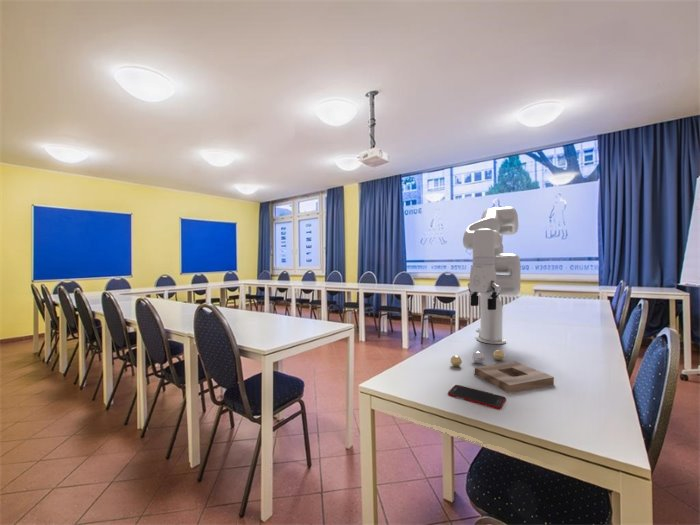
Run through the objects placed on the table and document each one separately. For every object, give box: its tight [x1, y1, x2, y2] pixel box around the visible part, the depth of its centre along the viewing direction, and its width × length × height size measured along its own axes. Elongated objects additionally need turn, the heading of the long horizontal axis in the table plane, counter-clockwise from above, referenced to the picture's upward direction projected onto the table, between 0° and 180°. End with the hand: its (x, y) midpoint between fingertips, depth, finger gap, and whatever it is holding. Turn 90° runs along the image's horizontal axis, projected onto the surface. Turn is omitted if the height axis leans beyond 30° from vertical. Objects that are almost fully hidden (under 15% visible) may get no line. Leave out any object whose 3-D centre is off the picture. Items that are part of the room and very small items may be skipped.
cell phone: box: [447, 384, 507, 410], centre depth 90 cm, size 8×15×1 cm, turn 53°
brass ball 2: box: [493, 349, 506, 361], centre depth 121 cm, size 4×4×4 cm
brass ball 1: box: [450, 355, 463, 368], centre depth 114 cm, size 4×4×4 cm
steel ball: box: [471, 350, 485, 364], centre depth 117 cm, size 4×4×4 cm
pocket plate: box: [474, 361, 555, 394], centre depth 102 cm, size 15×18×2 cm
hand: (482, 307), depth 116 cm, fingers open, 9 cm apart
